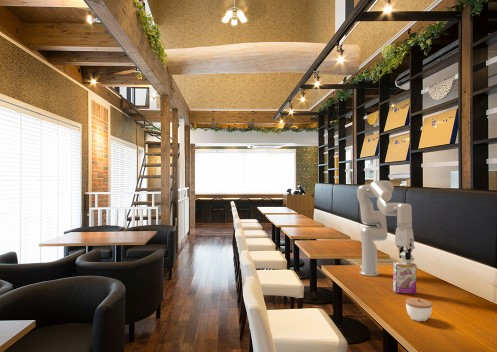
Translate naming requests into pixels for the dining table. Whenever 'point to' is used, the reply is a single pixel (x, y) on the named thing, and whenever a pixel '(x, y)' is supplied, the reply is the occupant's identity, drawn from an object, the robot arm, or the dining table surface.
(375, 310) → the dining table surface
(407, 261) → the sage block
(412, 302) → the lidded jar
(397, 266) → the candy bar box
